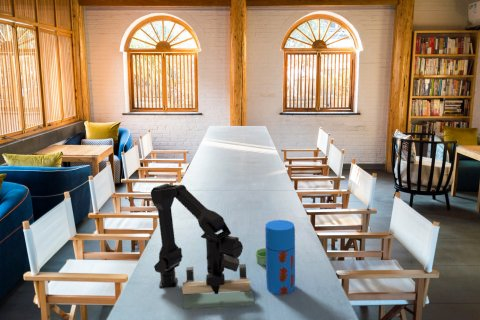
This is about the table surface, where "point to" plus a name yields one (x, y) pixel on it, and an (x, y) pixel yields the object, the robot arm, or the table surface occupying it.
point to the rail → (227, 287)
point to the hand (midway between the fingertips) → (216, 291)
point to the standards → (191, 273)
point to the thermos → (280, 256)
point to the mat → (218, 300)
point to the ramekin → (261, 256)
